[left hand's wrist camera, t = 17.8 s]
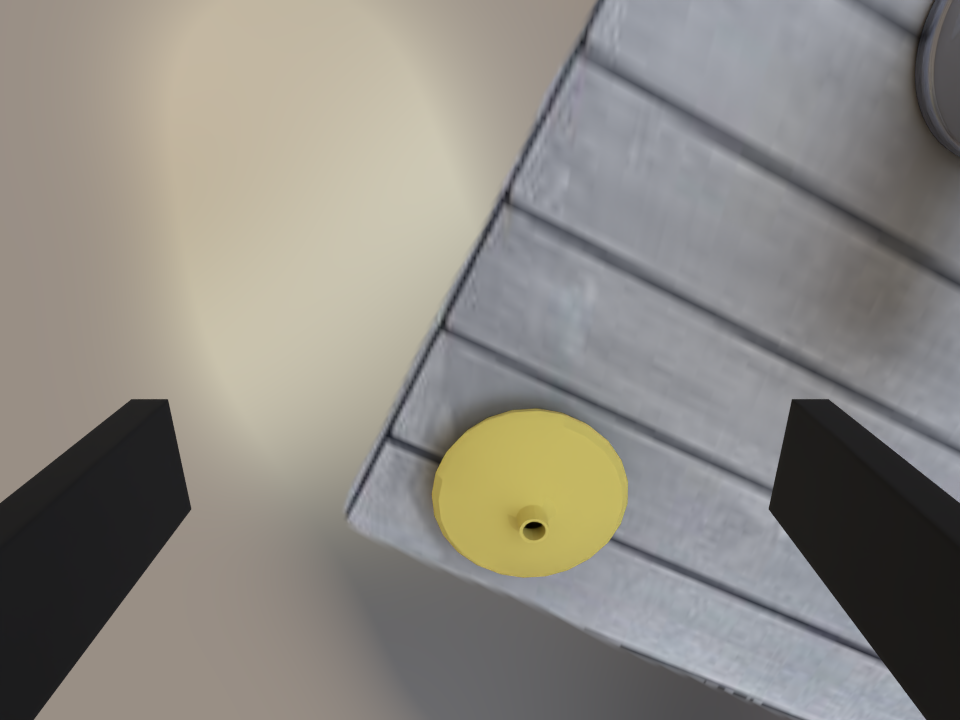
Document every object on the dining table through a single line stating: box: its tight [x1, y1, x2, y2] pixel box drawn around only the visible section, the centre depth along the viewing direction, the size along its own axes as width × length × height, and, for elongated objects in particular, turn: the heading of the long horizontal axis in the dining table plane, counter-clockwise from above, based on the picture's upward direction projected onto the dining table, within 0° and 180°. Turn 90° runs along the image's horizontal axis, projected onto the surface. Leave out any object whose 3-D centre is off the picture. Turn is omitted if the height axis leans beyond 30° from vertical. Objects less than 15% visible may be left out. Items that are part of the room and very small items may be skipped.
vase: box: [432, 408, 628, 578], centre depth 47 cm, size 16×16×7 cm
